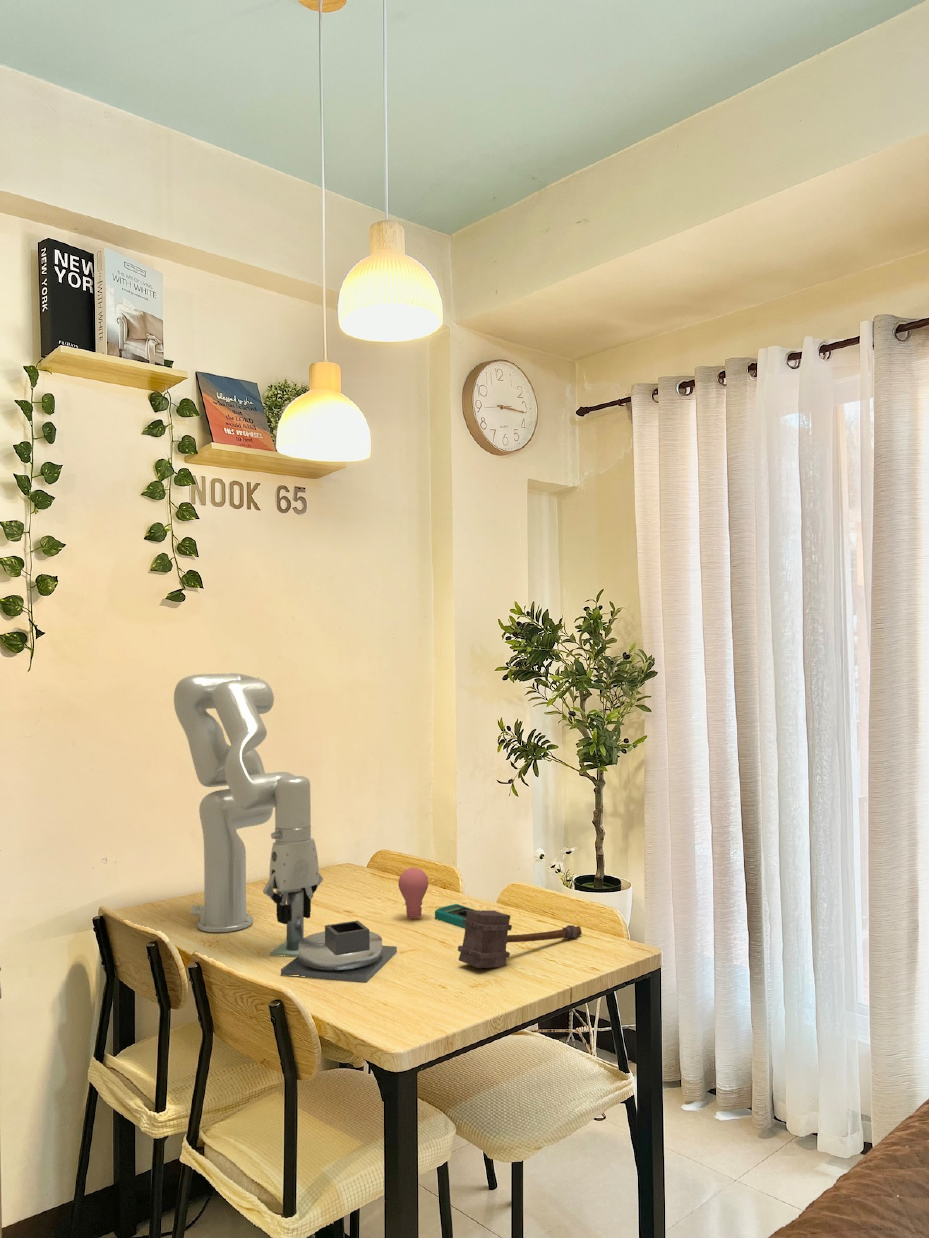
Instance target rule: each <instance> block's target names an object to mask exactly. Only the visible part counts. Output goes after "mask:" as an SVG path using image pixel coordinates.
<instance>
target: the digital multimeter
mask: <svg viewBox="0 0 929 1238" xmlns="http://www.w3.org/2000/svg"><path fill="white" fill-rule="evenodd" d="M467 910H475V909H473V908H470V907H467V906H464V905H461V904H458V903H454V904H450V905H445V906H441V907H439V908H437V909H435V910H434V919H435V920H437V919H438V920H437V921H440V920H442V921H441V922H443V921H445V922H444V923H447V924H450V925H453V926H457V927H460V928H463V929H465V926H466V925H464V924H462V923H463V919H466V914H467Z"/></svg>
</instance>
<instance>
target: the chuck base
mask: <svg viewBox="0 0 929 1238" xmlns="http://www.w3.org/2000/svg"><path fill="white" fill-rule="evenodd" d="M396 952H397V953H398V946H394V945H393V946H392V945H382V956H381V958H380V959H379V960H377V961H376V962H374V963H371V964H369V965H366V966H362V967H358V968H353V969H345V970H322V969H315V968H311V967H307V966H305V965H303V964H302V963H300V961H299V956H298V957H294V959H292V960H291V961H290V962H289V963H287V964H286V965H284V966H283V967H282V968H281V969H280V976H282V975H299V976H305V977H304V978H306V977H312V978H311V979H318V978H320V979H319V980H330V979H334V980H333V981H342V982H343V981H345V982H357V983H367V982H368V981H369V980H371V979H372V977H373V976H374V975H375V974H377V973H378V972H379V970H380V969H382V968H383V967H384V966H386V965H385V963H386V962H387V961H388V960H389V959H390V958H391V957H392V956H393V955H394V956H395V955H396V954H397V953H396ZM395 953H396V954H395ZM394 956H393V957H394ZM393 957H392V958H393ZM392 958H391V959H392ZM391 959H390V960H391ZM390 960H389V961H390ZM389 961H388V962H389ZM388 962H387V963H388ZM387 963H386V964H387Z"/></svg>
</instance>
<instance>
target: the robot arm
mask: <svg viewBox="0 0 929 1238" xmlns="http://www.w3.org/2000/svg"><path fill="white" fill-rule="evenodd" d="M274 701H275V696H274V692H273V690H272V688H271V685H269V683H268V682H266V681H265V680H264V679H261V678H258V677H255V676H251V675H247V674H243V673H237V672H236V673H233V672H231V673H203V674H194V675H193V674H191V675H189V676H186V677H184V678H182V679H180V680H179V681H178V682H177V683H176V686H175V688H174V693H173V706H174V707H173V708H174V711H175V714H176V717H177V719H178V722H179V724H180V725H181V727H182V729H183V731H184V734H185V736H186V739H187V743H188V746H189V750H190V755H191V758H192V759H191V760H192V763H193V767H194V770H195V774H196V778H197V780H198V781H199V784H200V785H202V786H204V787H206V788H217V787H224V786H228V788H226V789H218V790H214V791H211V792H210V793H208V794H206V795H205V796H204V797H203V798H202V800H201V801H200V804H199V810H198V812H199V819H200V824H201V830H202V837H203V839H202V840H203V864H204V865H203V868H204V869H203V874H204V876H203V877H204V886H203V887H204V888H203V889H204V890H203V891H204V895H203V897H204V904H203V905H202V904H201V905H200V904H193V905H191V909H190V916H197V917H198V916H199V917H200V919H199V920H198V921H197V928H198V929H199V930H200V931H203V932H207V933H229V932H235V931H240V930H244V929H247V928H248V927H250V926H251V925H253V923H254V918H253V916H252V915H250V913H249V914H248V913H247V861H246V860H247V855H246V854H247V852H246V850H247V849H246V846H245V843H244V841H243V839H242V838H241V837H240V836H239V834H238V832H237V830H240V829H243V828H249V827H254V826H259V825H263V824H265V823H268V821H270V820H271V818H272V815H273V812H274V817H275V818H274V820H275V821H274V822H275V823H274V826H275V828H274V831H273V832H271V834H270V837H271V839H272V840H274V842H272V848H271V852H270V853H271V854H270V860H269V879H268V881H267V882H266V884H265V886H264V887H263V890H262V893H263V894H264V895H266V896H267V897H269V898H270V899H271V900H272V901H273V902H274V904H275V905H276V921H277V922H278V923H280V924H282V925H287V924H288V905H287V895H288V892H289V891H294V890H298V889H301V890H303V891H304V919H310V918H311V911H312V908H311V907H312V905H311V904H312V902H311V901H312V899H313V898H314V894H315V892H316V891H317V889H318V887H319V886H320V885H321V883H322V882H323V880H324V878H323V876H322V875H321V874H320V872H319V870H320V867H319V859H318V851H317V846H316V841H315V839H314V838H312V833H311V832H312V830H311V829H312V827H311V820H312V819H311V818H312V817H311V814H312V813H311V812H312V811H311V809H312V808H311V781H310V779H309V777H307V776H304V775H303V776H302V775H294V774H293V773H290V772H289V771H288V772H287V771H277V772H267V773H266V771H265V767H264V765H263V761H262V758H261V756H260V754H259V752H258V751H257V750H256V748H257V747H259V746H260V745H261V744H262V743H263V742H264V741H265V739H266V737H267V734H268V732H267V728H266V725H265V724H264V721H263V719H262V717H261V715H264V714H266V713H268V712H269V711H271V710H272V708H273V706H274ZM211 709H213V710H214V709H215V711H216V713H217V716H218V718H219V720H220V722H221V724H222V726H221V725H220V723H219V721H217V719H216V718H215V717H214V716H213V715H212V714H210V713H209V712H208V711H207V710H211ZM223 729H224V731H225V734H226V736H227V738H228V740H229V743H230V745H229V744H228V743H227V741H226V738H225V734H224V731H223ZM274 890H275V891H274Z"/></svg>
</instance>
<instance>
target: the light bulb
mask: <svg viewBox="0 0 929 1238" xmlns="http://www.w3.org/2000/svg"><path fill="white" fill-rule="evenodd" d="M428 887H429V878H428V876H427V874H426V873H425V871H423V870H422V869H421V868H418V867H409V868H407V869H405V870H404V871H402V873H401V874H400V876H399V877H398V889H399V891H400V894H401V895H402V898H403V899H404V901H405V902H404V905H405V906H406V909H405V911H406V917H407V918H411V919H413V918H415V919H417V918H420V917H422V911H423V910H422V905H423V899H424V897H425V895H426V893H427V891H428Z"/></svg>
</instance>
